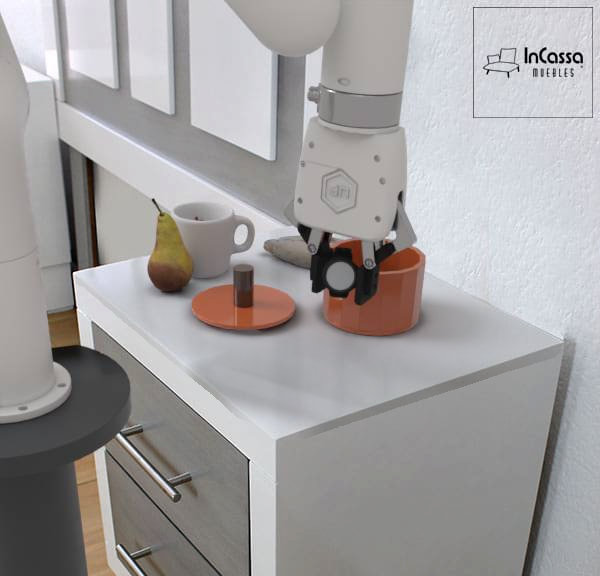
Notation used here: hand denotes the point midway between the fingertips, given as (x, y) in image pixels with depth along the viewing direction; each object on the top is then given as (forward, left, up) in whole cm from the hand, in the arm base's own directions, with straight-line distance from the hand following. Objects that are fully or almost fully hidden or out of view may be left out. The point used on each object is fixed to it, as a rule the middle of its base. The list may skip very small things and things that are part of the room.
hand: (342, 293), depth 92 cm
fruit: (+6, +26, -8) cm, 28 cm away
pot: (+13, +2, -8) cm, 16 cm away
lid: (+6, +15, -8) cm, 18 cm away
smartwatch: (0, 0, -1) cm, 1 cm away
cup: (+14, +25, -8) cm, 30 cm away
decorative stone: (+24, +16, -8) cm, 30 cm away
